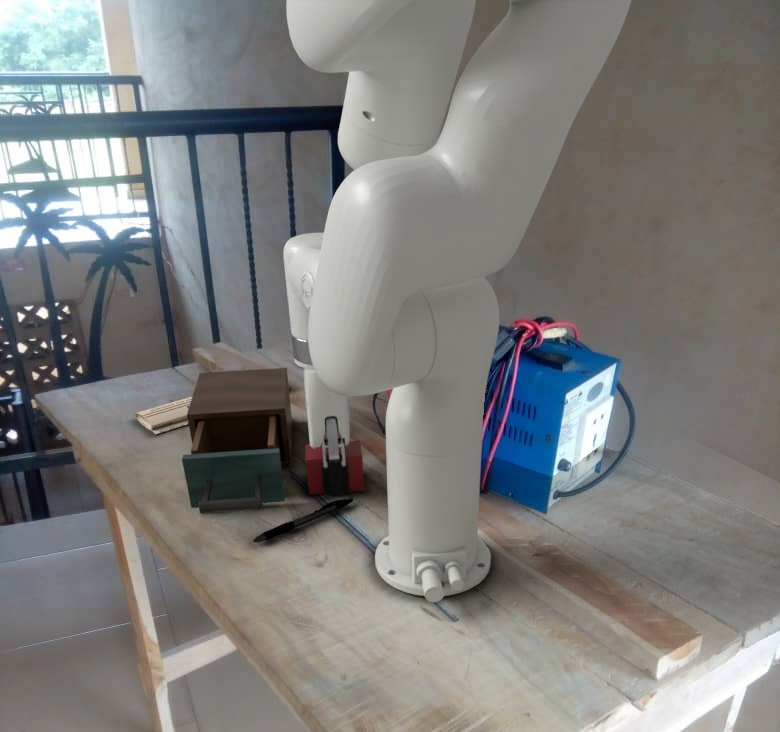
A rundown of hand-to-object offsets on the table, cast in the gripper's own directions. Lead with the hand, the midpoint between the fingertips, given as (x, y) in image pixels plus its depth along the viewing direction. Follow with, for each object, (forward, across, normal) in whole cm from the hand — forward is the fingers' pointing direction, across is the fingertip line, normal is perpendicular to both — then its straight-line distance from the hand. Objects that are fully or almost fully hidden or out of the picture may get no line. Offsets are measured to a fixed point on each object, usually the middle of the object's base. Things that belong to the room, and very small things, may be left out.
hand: (335, 482), depth 97 cm
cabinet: (0, -13, -12) cm, 18 cm away
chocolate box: (0, 0, 0) cm, 0 cm away
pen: (+1, +9, -4) cm, 10 cm away
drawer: (0, +1, -12) cm, 12 cm away
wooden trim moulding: (0, -28, -18) cm, 34 cm away
